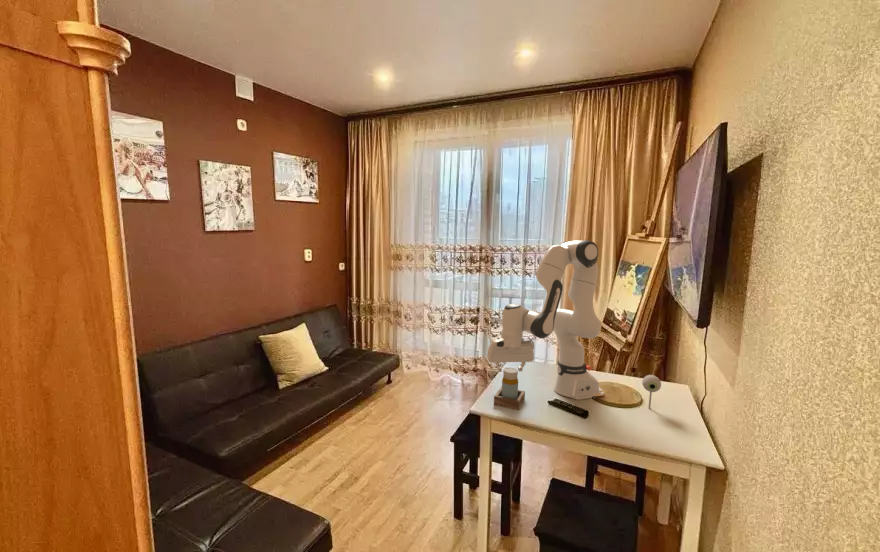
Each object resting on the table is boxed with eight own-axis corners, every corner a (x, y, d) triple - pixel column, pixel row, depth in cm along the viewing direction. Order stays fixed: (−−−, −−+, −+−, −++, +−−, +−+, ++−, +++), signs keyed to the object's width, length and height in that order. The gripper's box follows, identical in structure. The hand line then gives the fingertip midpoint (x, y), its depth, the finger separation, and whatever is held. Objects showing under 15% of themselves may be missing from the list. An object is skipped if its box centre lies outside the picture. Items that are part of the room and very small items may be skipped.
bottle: (520, 402, 170) (521, 370, 168) (511, 407, 165) (513, 374, 163) (507, 397, 175) (508, 366, 173) (498, 402, 170) (499, 370, 168)
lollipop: (641, 410, 163) (644, 377, 161) (639, 403, 170) (642, 371, 168) (659, 413, 161) (663, 380, 159) (657, 406, 167) (660, 373, 165)
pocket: (501, 394, 177) (501, 386, 177) (524, 399, 173) (524, 391, 172) (493, 404, 168) (494, 396, 167) (518, 410, 163) (518, 401, 162)
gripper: (531, 338, 170) (530, 367, 172) (487, 338, 168) (485, 368, 170) (536, 342, 164) (535, 373, 166) (490, 343, 162) (489, 374, 163)
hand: (509, 371), depth 168 cm, fingers open, 8 cm apart
